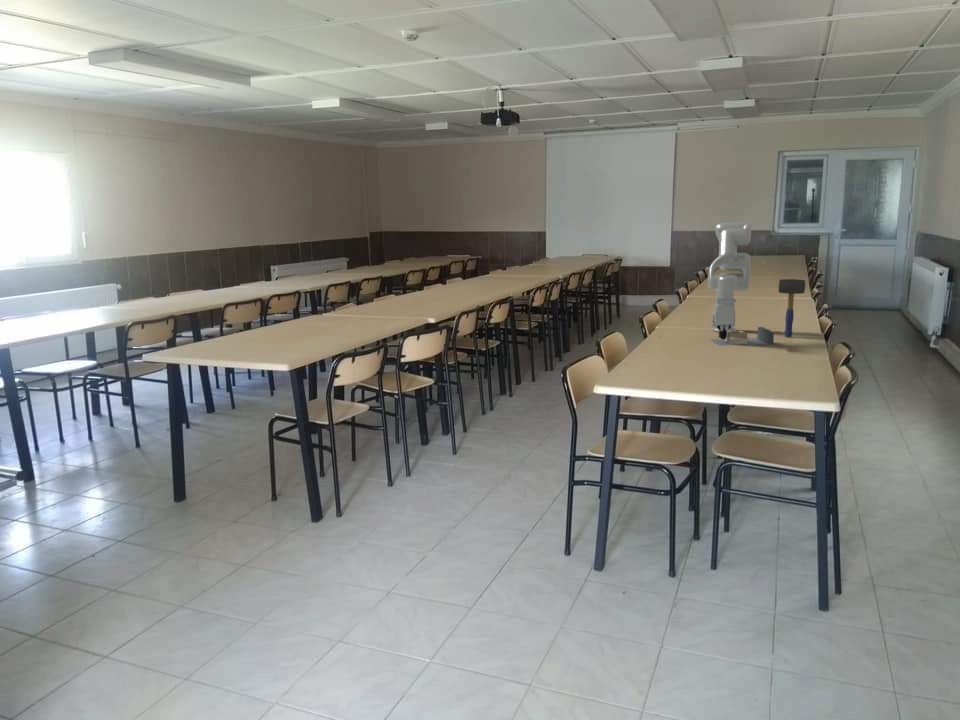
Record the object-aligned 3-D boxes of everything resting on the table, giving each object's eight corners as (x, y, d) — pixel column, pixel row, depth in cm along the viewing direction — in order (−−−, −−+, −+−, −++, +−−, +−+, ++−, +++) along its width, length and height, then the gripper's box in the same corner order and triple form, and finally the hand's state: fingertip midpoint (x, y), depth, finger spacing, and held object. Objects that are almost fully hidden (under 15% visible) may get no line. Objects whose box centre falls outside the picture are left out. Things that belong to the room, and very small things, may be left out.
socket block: (724, 340, 350) (725, 330, 349) (741, 340, 350) (741, 330, 349) (730, 343, 342) (730, 333, 341) (746, 343, 342) (747, 333, 341)
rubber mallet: (801, 336, 365) (805, 278, 359) (801, 338, 358) (805, 280, 352) (775, 335, 370) (779, 278, 364) (774, 337, 363) (778, 279, 357)
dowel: (717, 339, 361) (718, 316, 359) (723, 339, 361) (725, 316, 359) (719, 340, 358) (720, 317, 356) (725, 340, 358) (727, 317, 356)
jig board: (709, 342, 354) (710, 327, 353) (761, 341, 354) (762, 326, 353) (719, 348, 340) (719, 333, 338) (772, 347, 339) (774, 332, 338)
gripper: (737, 300, 346) (735, 337, 350) (707, 301, 346) (705, 337, 350) (743, 302, 338) (740, 339, 342) (711, 303, 339) (710, 340, 343)
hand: (722, 338), depth 346 cm, fingers closed
